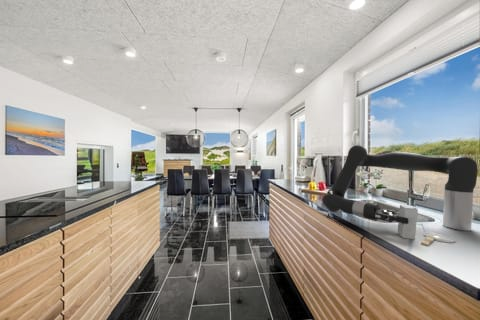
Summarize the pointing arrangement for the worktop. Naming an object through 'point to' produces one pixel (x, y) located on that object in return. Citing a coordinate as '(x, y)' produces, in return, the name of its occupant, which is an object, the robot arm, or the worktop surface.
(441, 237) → the white shallow dome
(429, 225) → the worktop surface
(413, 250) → the worktop surface
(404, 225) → the skincare box
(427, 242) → the wooden slat
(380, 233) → the worktop surface
